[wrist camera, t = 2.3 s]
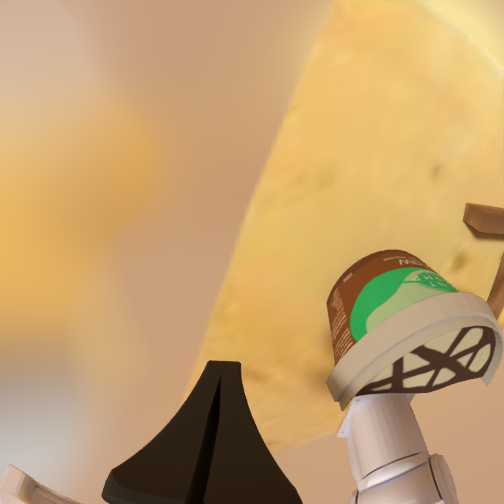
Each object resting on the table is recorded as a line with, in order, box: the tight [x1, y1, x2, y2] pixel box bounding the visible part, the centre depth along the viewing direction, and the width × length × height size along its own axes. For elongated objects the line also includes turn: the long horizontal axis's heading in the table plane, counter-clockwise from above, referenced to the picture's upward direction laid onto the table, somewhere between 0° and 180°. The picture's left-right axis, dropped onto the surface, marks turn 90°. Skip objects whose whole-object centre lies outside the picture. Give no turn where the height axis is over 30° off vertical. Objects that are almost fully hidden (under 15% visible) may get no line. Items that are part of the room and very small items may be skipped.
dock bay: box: [463, 203, 504, 329], centre depth 19 cm, size 12×8×3 cm
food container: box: [326, 250, 504, 411], centre depth 16 cm, size 12×6×10 cm, turn 85°
